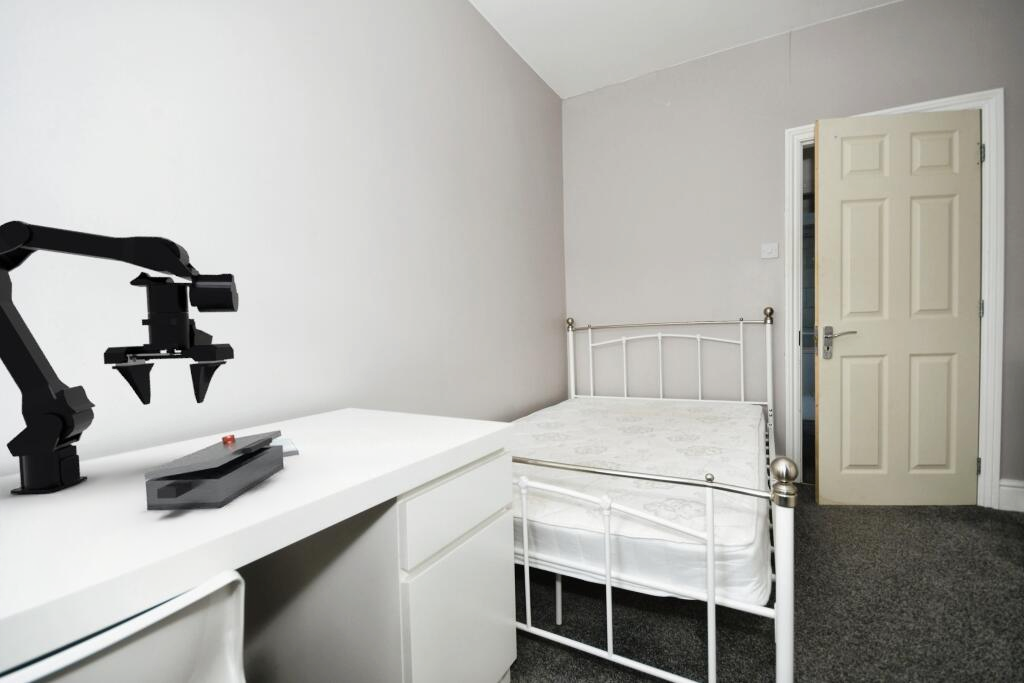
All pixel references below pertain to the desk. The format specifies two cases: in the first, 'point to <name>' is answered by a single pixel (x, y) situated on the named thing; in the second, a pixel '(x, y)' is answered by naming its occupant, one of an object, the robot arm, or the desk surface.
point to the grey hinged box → (214, 481)
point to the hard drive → (286, 446)
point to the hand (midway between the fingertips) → (173, 403)
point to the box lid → (214, 454)
